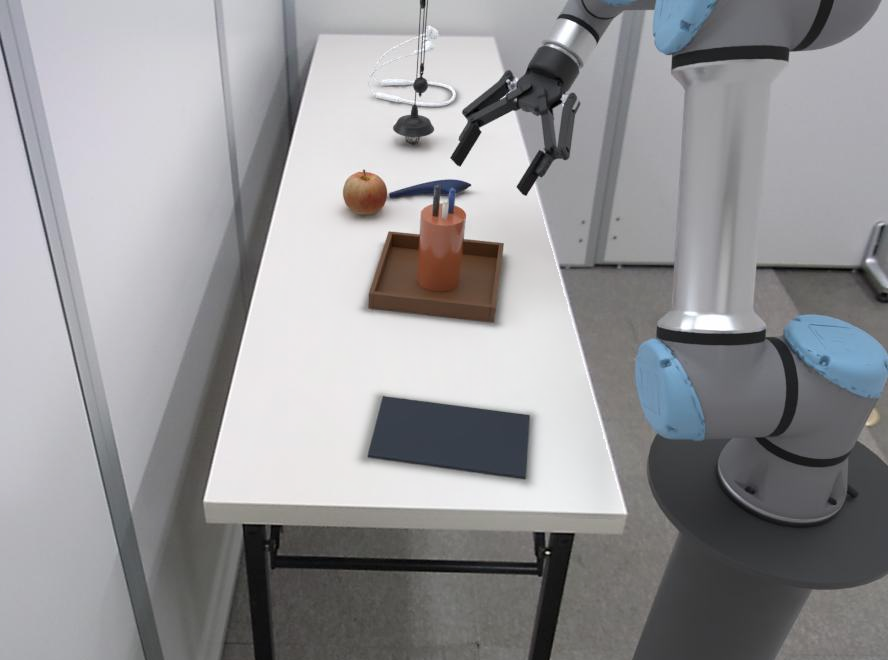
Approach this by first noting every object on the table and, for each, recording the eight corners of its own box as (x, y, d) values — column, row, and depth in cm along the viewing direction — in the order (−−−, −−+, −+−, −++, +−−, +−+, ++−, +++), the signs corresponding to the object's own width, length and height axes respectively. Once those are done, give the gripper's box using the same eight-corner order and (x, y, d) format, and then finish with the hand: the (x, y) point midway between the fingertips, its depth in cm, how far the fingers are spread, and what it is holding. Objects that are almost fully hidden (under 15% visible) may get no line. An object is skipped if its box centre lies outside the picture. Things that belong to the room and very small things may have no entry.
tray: (502, 257, 153) (504, 242, 151) (493, 322, 138) (496, 307, 136) (388, 245, 155) (388, 231, 154) (368, 308, 141) (368, 293, 139)
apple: (336, 204, 167) (336, 163, 161) (377, 198, 168) (378, 158, 163) (350, 224, 161) (350, 183, 156) (392, 218, 163) (393, 177, 158)
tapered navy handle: (391, 206, 168) (391, 196, 166) (387, 194, 170) (387, 183, 168) (472, 195, 170) (474, 185, 168) (468, 184, 172) (469, 173, 170)
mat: (529, 417, 121) (529, 414, 121) (525, 479, 112) (525, 476, 112) (382, 398, 124) (382, 395, 124) (367, 457, 115) (367, 454, 115)
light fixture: (440, 153, 184) (452, -10, 163) (400, 157, 182) (408, -7, 162) (426, 133, 191) (436, -25, 170) (387, 137, 189) (393, -23, 169)
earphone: (369, 63, 211) (430, 15, 202) (411, 119, 218) (472, 76, 209) (358, 84, 201) (422, 35, 192) (403, 142, 208) (467, 98, 198)
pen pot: (461, 271, 149) (471, 175, 138) (457, 294, 143) (467, 197, 132) (419, 266, 150) (425, 171, 139) (413, 289, 144) (419, 192, 133)
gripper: (635, 93, 136) (558, 214, 138) (507, 50, 150) (439, 161, 152) (622, 66, 130) (542, 194, 132) (489, 24, 144) (419, 140, 146)
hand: (487, 176), depth 142 cm, fingers open, 13 cm apart
